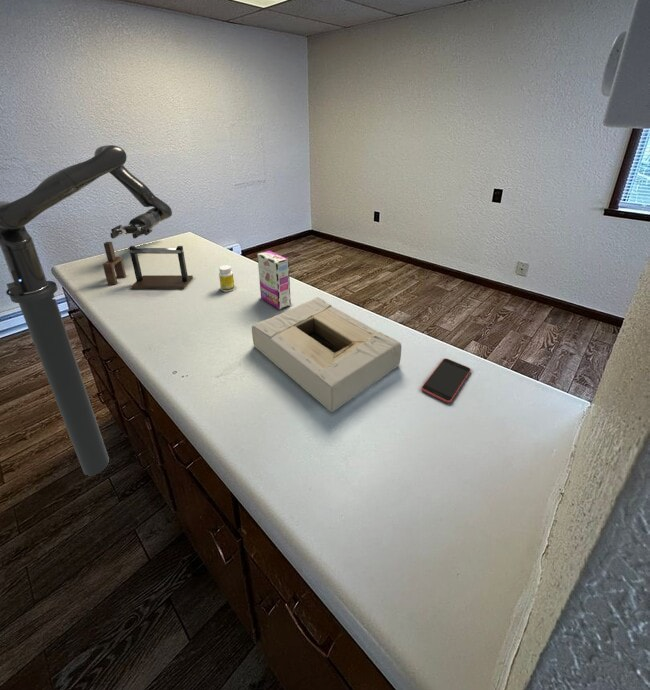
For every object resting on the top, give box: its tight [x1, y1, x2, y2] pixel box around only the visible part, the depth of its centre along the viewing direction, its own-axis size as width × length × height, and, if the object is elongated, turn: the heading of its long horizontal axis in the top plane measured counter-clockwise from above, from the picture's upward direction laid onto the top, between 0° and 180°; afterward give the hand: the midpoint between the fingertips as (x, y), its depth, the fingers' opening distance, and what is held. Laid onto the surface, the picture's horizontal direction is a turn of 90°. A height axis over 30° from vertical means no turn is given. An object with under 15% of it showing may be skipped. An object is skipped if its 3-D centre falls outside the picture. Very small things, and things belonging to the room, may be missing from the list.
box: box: [251, 296, 402, 413], centre depth 92 cm, size 23×8×32 cm
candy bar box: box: [256, 250, 292, 311], centre depth 117 cm, size 11×5×16 cm, turn 42°
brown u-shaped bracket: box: [102, 241, 127, 286], centre depth 133 cm, size 7×3×15 cm, turn 179°
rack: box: [128, 245, 194, 290], centre depth 130 cm, size 9×19×15 cm, turn 89°
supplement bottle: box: [218, 264, 235, 293], centre depth 127 cm, size 5×5×8 cm
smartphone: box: [421, 358, 472, 404], centre depth 84 cm, size 7×1×14 cm
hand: (122, 236), depth 139 cm, fingers open, 8 cm apart
